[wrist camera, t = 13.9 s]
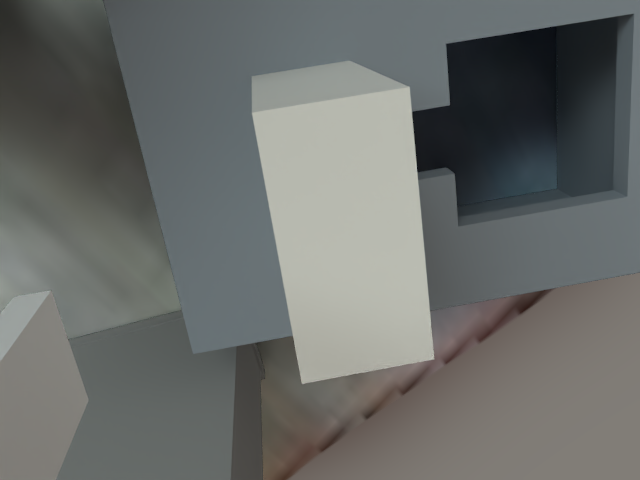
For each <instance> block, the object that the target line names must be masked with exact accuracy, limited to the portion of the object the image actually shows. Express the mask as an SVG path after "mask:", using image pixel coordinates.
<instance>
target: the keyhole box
mask: <svg viewBox="0 0 640 480" xmlns="http://www.w3.org/2000/svg"><path fill="white" fill-rule="evenodd" d="M103 2H104V6H105V10H106V14H107V18H108V22H109V26H110V30H111V34H112V38H113V41H114V45H115V49H116V53H117V57H118V61H119V65H120V69H121V73H122V77H123V81H124V85H125V89H126V92H127V96H128V100H129V104H130V108H131V112H132V116H133V120H134V124H135V128H136V132H137V136H138V140H139V144H140V147H141V151H142V155H143V159H144V163H145V167H146V171H147V175H148V179H149V183H150V187H151V191H152V195H153V199H154V202H155V206H156V210H157V214H158V218H159V222H160V226H161V230H162V234H163V238H164V242H165V246H166V250H167V254H168V257H169V261H170V265H171V269H172V273H173V277H174V281H175V285H176V289H177V293H178V297H179V301H180V305H181V308H182V312H183V316H184V320H185V324H186V328H187V332H188V336H189V340H190V344H191V348H192V352H193V354H196V353H202V352H207V351H213V350H218V349H223V348H229V347H234V346H240V345H245V344H251V343H256V342H262V341H267V340H273V339H278V338H284V337H289V336H293V333H292V328H291V323H290V317H289V312H288V306H287V301H286V295H285V290H284V285H283V279H282V274H281V268H280V263H279V257H278V252H277V247H276V241H275V236H274V230H273V225H272V219H271V214H270V209H269V203H268V198H267V192H266V187H265V181H264V176H263V171H262V165H261V160H260V154H259V149H258V143H257V138H256V133H255V127H254V122H253V116H252V76H256V75H262V74H269V73H275V72H281V71H287V70H294V69H300V68H306V67H312V66H318V65H325V64H331V63H337V62H343V61H352V62H354V63H356V64H359V65H361V66H363V67H365V68H368V69H370V70H372V71H374V72H377V73H379V74H381V75H384V76H386V77H388V78H390V79H393V80H395V81H397V82H400V83H402V84H404V85H406V86H409V87H410V97H411V108H412V112H413V111H419V110H425V109H431V108H437V107H443V106H449V105H450V96H449V81H448V66H447V52H446V44H448V43H454V42H460V41H466V40H473V39H479V38H485V37H491V36H497V35H504V34H510V33H516V32H522V31H529V30H535V29H541V28H547V27H553V26H556V53H557V189H554V190H548V191H542V192H536V193H531V194H525V195H519V196H513V197H508V198H502V199H496V200H490V201H485V202H479V203H473V204H467V205H462V206H457V199H456V184H455V173H453V172H452V171H451V170H449V169H448V168H447V167H446V168H440V169H434V170H428V171H423V172H417V174H418V185H419V196H420V207H421V218H422V229H423V240H424V251H425V262H426V273H427V284H428V295H429V306H430V311H432V310H437V309H443V308H448V307H454V306H459V305H465V304H470V303H476V302H481V301H487V300H492V299H498V298H503V297H509V296H514V295H520V294H525V293H531V292H536V291H542V290H547V289H553V288H558V287H563V286H569V285H574V284H580V283H585V282H590V281H596V280H601V279H607V278H613V277H618V276H624V275H629V274H635V273H640V0H103Z"/></svg>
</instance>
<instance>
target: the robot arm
mask: <svg viewBox="0 0 640 480" xmlns="http://www.w3.org/2000/svg"><path fill="white" fill-rule="evenodd" d="M88 400H89V399H88V397H87V394H86V391H85V388H84V385H83V382H82V379H81V376H80V373H79V370H78V367H77V364H76V361H75V358H74V355H73V352H72V349H71V346H70V343H69V341H68V338H67V335H66V332H65V329H64V326H63V323H62V320H61V317H60V314H59V311H58V308H57V305H56V302H55V299H54V296H53V293H52V290H49V291H43V292H38V293H32V294H26V295H21V296H15V297H13V299H12V300H11V301H10V302H9V303H8V305H7V306H6V307H5V308H4V309H3V311H2V312H1V313H0V480H56V478H57V476H58V473H59V471H60V468H61V466H62V463H63V461H64V459H65V456H66V454H67V451H68V449H69V446H70V444H71V442H72V439H73V437H74V434H75V432H76V430H77V427H78V425H79V422H80V420H81V417H82V415H83V413H84V410H85V408H86V405H87V403H88Z"/></svg>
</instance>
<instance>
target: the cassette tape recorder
mask: <svg viewBox="0 0 640 480" xmlns="http://www.w3.org/2000/svg"><path fill="white" fill-rule="evenodd" d="M68 341H69V343H70V346H71V349H72V352H73V355H74V358H75V361H76V364H77V367H78V370H79V373H80V376H81V379H82V382H83V385H84V388H85V391H86V394H87V397H88V399H89V400H88V403H87V405H86V408H85V410H84V413H83V415H82V417H81V420H80V422H79V425H78V427H77V430H76V432H75V434H74V437H73V439H72V442H71V444H70V446H69V449H68V451H67V454H66V456H65V459H64V461H63V463H62V466H61V468H60V471H59V473H58V476H57V478H56V480H263V461H262V423H261V384H260V380H262V379H265V369H264V366H263V363H262V360H261V357H260V354H259V350H258V347H257V344H256V343H251V344H245V345H240V346H234V347H229V348H223V349H218V350H213V351H207V352H202V353H196V354H193V352H192V348H191V344H190V340H189V336H188V332H187V328H186V324H185V320H184V316H183V312H182V310H180V311H176V312H172V313H169V314H165V315H161V316H157V317H153V318H150V319H146V320H142V321H138V322H134V323H131V324H127V325H123V326H119V327H115V328H112V329H108V330H104V331H100V332H96V333H93V334H89V335H85V336H81V337H77V338H74V339H70V340H68Z"/></svg>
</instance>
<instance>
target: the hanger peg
mask: <svg viewBox="0 0 640 480" xmlns="http://www.w3.org/2000/svg"><path fill="white" fill-rule="evenodd" d="M252 116H253V122H254V127H255V133H256V138H257V143H258V149H259V154H260V160H261V165H262V171H263V176H264V181H265V187H266V192H267V198H268V203H269V209H270V214H271V219H272V225H273V230H274V236H275V241H276V247H277V252H278V257H279V263H280V268H281V274H282V279H283V285H284V290H285V295H286V301H287V306H288V312H289V317H290V323H291V328H292V333H293V339H294V344H295V350H296V355H297V361H298V366H299V371H300V377H301V382H302V384H305V383H310V382H315V381H321V380H326V379H331V378H337V377H342V376H348V375H353V374H358V373H364V372H369V371H374V370H380V369H385V368H390V367H396V366H401V365H407V364H412V363H417V362H423V361H428V360H433V359H434V351H433V339H432V328H431V317H430V306H429V295H428V284H427V273H426V262H425V251H424V240H423V229H422V218H421V207H420V196H419V185H418V174H417V163H416V152H415V141H414V130H413V119H412V108H411V97H410V87H409V86H406V85H404V84H402V83H400V82H397V81H395V80H393V79H390V78H388V77H386V76H384V75H381V74H379V73H377V72H374V71H372V70H370V69H368V68H365V67H363V66H361V65H359V64H356V63H354V62H352V61H343V62H337V63H331V64H325V65H318V66H312V67H306V68H300V69H294V70H287V71H281V72H275V73H269V74H262V75H256V76H252Z"/></svg>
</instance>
